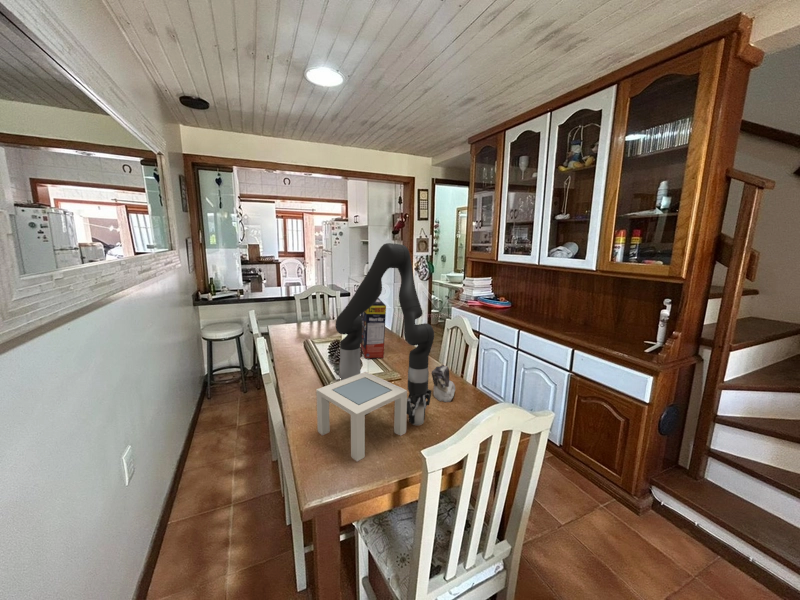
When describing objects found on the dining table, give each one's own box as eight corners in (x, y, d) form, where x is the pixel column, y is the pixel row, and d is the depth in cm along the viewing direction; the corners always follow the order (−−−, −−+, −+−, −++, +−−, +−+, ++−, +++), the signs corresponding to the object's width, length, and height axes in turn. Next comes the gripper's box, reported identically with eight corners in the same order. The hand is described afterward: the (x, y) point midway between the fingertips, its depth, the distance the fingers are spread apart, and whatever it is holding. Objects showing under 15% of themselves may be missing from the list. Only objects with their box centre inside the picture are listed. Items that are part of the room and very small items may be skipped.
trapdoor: (333, 392, 114) (332, 389, 114) (364, 380, 124) (364, 377, 124) (358, 407, 104) (358, 404, 104) (390, 392, 114) (390, 390, 114)
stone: (459, 405, 139) (446, 379, 134) (437, 412, 142) (423, 386, 137) (457, 384, 152) (445, 359, 146) (437, 390, 154) (424, 365, 149)
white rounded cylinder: (406, 421, 124) (407, 406, 123) (416, 416, 128) (416, 401, 127) (417, 427, 121) (417, 411, 120) (426, 421, 124) (427, 406, 123)
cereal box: (384, 359, 187) (387, 303, 181) (364, 359, 184) (366, 303, 178) (376, 344, 212) (378, 294, 206) (358, 344, 209) (360, 294, 204)
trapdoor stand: (317, 431, 117) (316, 389, 114) (365, 409, 132) (365, 371, 129) (357, 461, 102) (356, 413, 99) (406, 432, 117) (407, 390, 114)
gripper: (422, 369, 129) (421, 409, 132) (396, 380, 118) (396, 423, 122) (438, 375, 124) (436, 416, 127) (412, 387, 113) (411, 432, 117)
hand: (416, 419), depth 124 cm, fingers closed on white rounded cylinder, 5 cm apart
